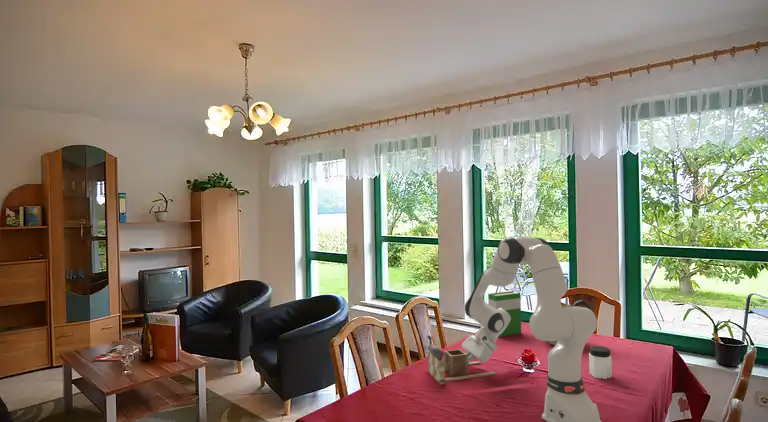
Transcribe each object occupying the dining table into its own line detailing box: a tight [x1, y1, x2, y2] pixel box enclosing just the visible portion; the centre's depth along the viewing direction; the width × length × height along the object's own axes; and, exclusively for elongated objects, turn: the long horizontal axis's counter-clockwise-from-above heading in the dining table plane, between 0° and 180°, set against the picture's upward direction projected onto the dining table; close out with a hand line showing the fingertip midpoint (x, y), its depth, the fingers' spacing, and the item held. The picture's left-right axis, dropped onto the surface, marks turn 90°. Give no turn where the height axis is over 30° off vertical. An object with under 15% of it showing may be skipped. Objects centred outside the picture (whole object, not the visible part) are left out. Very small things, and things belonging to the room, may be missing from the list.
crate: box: [443, 348, 469, 377], centre depth 203 cm, size 8×8×9 cm
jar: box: [588, 345, 613, 380], centre depth 198 cm, size 9×8×12 cm
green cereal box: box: [487, 290, 522, 338], centre depth 266 cm, size 18×7×24 cm, turn 112°
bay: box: [426, 335, 496, 385], centre depth 204 cm, size 17×27×17 cm, turn 104°
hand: (465, 362), depth 204 cm, fingers closed, pressing on crate
